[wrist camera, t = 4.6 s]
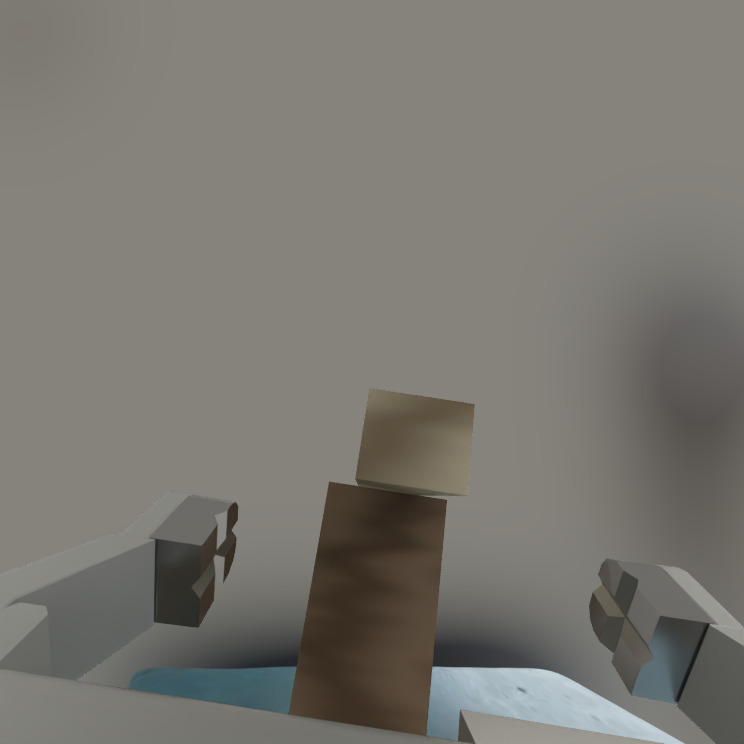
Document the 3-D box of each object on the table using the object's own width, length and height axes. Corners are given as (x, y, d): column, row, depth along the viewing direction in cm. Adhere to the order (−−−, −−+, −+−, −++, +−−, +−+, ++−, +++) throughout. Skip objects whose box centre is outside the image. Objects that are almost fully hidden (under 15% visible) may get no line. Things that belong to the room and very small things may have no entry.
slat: (395, 495, 33) (399, 465, 34) (467, 495, 11) (474, 404, 11) (359, 489, 34) (364, 459, 34) (355, 478, 11) (369, 388, 11)
